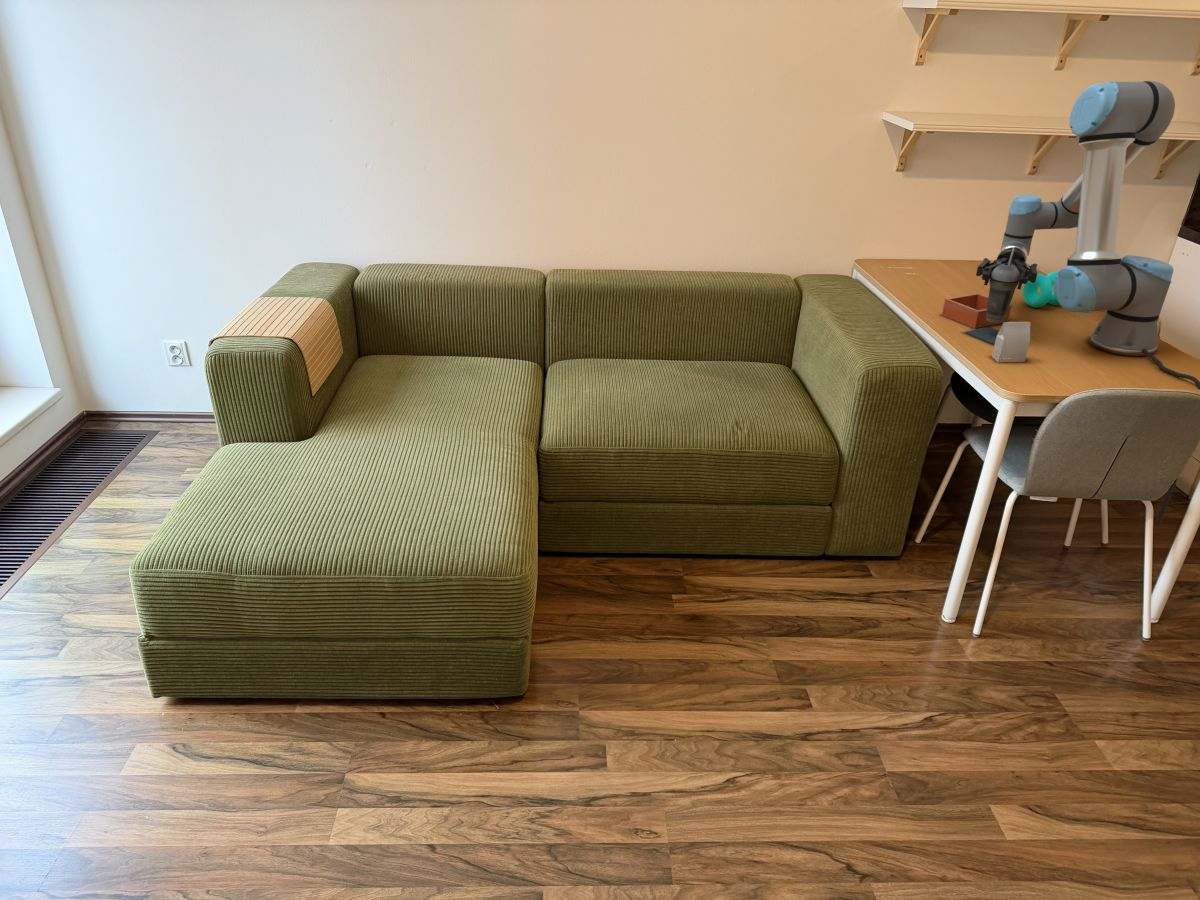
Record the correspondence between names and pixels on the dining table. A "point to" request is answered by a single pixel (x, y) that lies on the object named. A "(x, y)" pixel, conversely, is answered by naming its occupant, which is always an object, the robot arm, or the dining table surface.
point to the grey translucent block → (1012, 342)
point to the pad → (985, 334)
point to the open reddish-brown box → (969, 310)
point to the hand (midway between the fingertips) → (1003, 282)
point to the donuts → (1045, 294)
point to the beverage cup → (1001, 290)
